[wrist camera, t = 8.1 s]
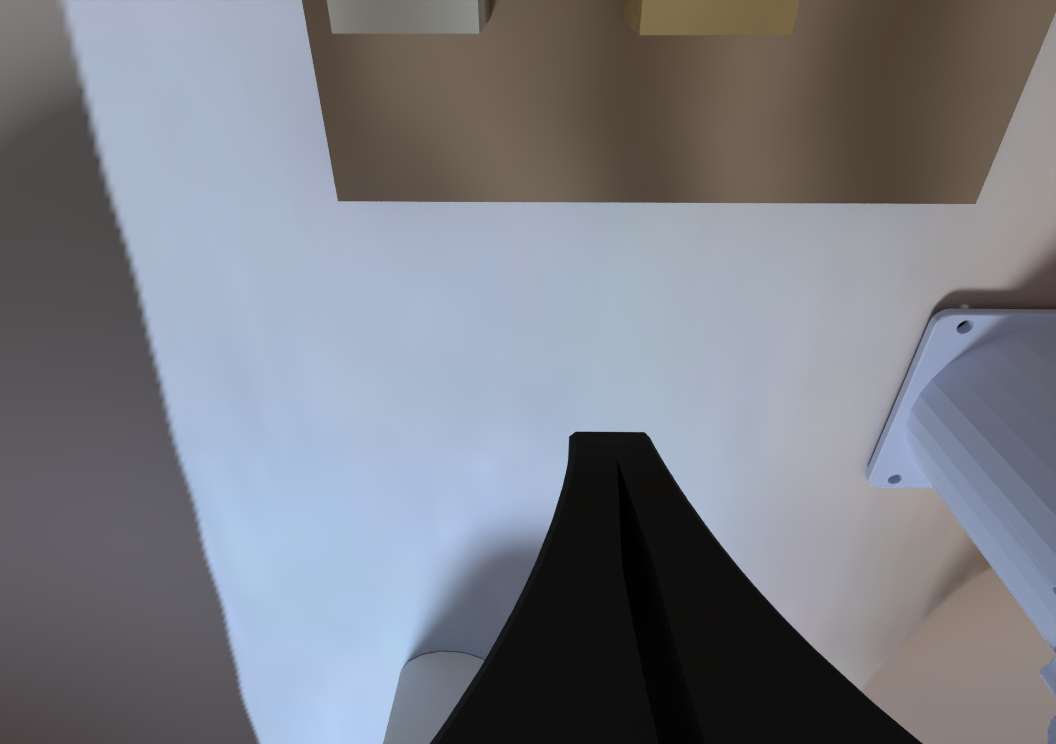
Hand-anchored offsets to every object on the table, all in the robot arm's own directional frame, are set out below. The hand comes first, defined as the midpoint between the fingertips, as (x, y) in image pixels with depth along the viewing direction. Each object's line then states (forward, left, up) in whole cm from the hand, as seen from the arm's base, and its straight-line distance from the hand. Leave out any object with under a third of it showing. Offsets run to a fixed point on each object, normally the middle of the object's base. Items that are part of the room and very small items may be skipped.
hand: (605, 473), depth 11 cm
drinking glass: (+6, +26, -11) cm, 29 cm away
